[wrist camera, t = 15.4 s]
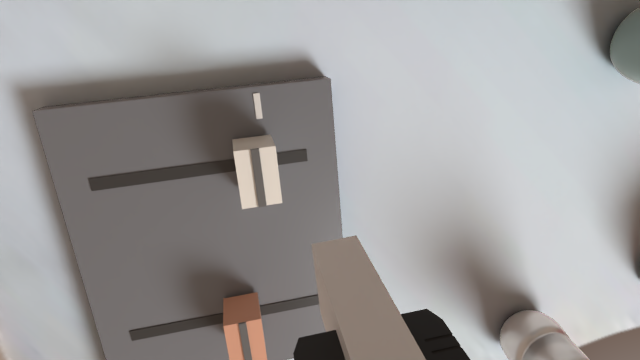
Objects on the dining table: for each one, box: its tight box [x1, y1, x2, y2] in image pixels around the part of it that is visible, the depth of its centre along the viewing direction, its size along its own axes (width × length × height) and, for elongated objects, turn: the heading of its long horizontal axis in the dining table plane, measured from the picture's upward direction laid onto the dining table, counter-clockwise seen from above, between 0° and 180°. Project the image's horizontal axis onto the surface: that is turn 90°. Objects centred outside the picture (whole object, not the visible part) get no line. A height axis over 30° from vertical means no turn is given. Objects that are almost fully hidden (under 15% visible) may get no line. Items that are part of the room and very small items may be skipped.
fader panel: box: [32, 77, 343, 360], centre depth 38 cm, size 26×22×2 cm
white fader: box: [232, 135, 282, 209], centre depth 34 cm, size 4×3×4 cm
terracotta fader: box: [223, 292, 267, 360], centre depth 38 cm, size 4×3×4 cm
